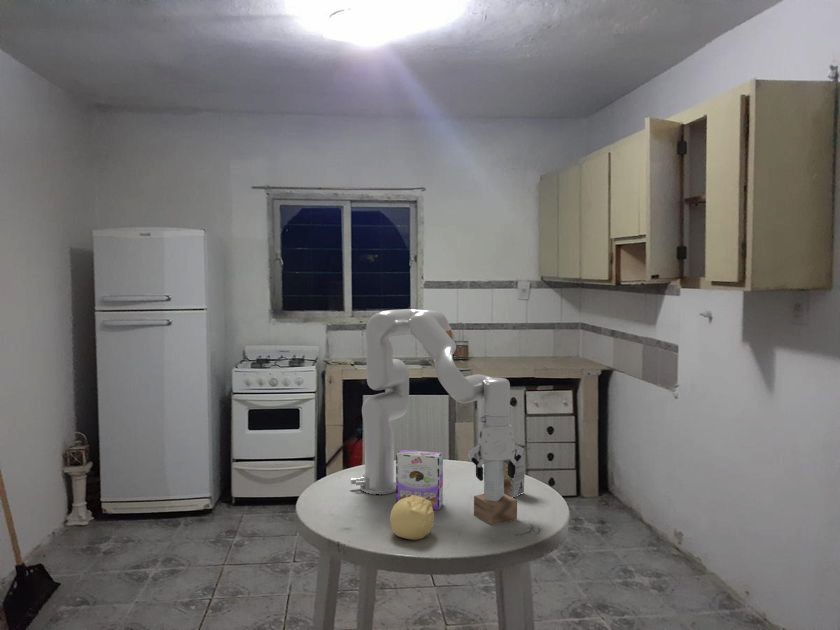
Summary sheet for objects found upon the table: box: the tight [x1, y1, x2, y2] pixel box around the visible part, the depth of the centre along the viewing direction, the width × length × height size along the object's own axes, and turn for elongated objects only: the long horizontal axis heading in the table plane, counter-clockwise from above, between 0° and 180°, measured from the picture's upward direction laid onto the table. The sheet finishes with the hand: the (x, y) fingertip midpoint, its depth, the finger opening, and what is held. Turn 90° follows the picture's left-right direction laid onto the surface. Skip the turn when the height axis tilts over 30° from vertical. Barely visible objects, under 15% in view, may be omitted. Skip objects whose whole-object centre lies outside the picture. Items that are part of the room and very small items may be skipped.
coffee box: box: [504, 442, 526, 498], centre depth 212 cm, size 9×6×16 cm
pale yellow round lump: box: [389, 495, 435, 541], centre depth 177 cm, size 11×12×11 cm
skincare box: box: [483, 460, 504, 502], centre depth 191 cm, size 6×4×12 cm
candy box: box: [395, 449, 444, 511], centre depth 200 cm, size 14×6×16 cm, turn 74°
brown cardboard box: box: [473, 493, 518, 526], centre depth 191 cm, size 9×9×6 cm
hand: (495, 478), depth 191 cm, fingers open, 9 cm apart
